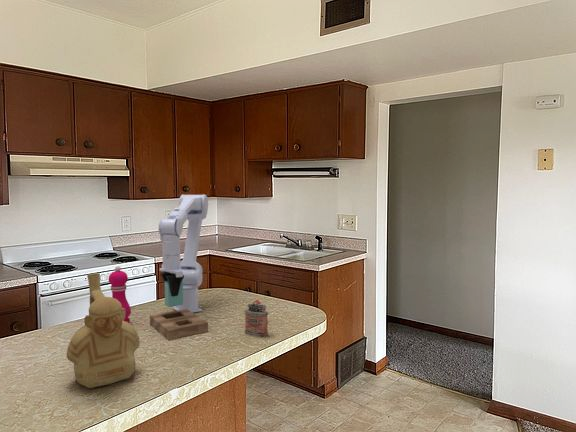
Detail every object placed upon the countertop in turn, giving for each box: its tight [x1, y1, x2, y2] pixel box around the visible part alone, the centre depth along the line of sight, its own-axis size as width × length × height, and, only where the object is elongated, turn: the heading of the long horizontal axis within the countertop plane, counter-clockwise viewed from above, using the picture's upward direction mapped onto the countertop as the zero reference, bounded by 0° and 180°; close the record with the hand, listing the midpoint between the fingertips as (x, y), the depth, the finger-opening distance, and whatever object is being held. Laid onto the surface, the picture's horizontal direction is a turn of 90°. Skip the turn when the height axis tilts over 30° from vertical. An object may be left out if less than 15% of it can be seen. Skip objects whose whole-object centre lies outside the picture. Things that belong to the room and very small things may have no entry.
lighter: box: [244, 302, 269, 338], centre depth 141 cm, size 8×3×10 cm, turn 62°
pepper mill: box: [108, 266, 132, 324], centre depth 150 cm, size 7×7×20 cm
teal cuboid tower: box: [164, 281, 183, 308], centre depth 151 cm, size 4×5×8 cm
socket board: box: [149, 309, 209, 341], centre depth 148 cm, size 18×13×3 cm
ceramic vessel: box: [65, 272, 140, 389], centre depth 111 cm, size 17×20×25 cm
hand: (172, 294), depth 151 cm, fingers closed on teal cuboid tower, 3 cm apart
